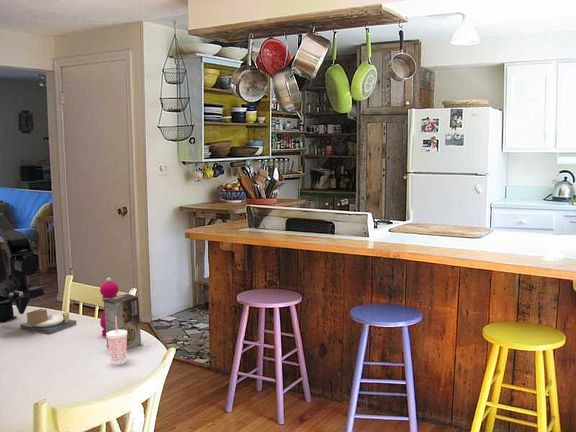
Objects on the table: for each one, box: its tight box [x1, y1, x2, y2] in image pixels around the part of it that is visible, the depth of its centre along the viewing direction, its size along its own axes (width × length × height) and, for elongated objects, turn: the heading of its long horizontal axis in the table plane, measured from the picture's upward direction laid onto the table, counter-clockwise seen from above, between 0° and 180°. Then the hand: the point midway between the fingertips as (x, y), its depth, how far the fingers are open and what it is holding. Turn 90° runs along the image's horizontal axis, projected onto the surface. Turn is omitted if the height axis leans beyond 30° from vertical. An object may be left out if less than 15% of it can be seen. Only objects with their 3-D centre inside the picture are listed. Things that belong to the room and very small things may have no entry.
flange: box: [26, 308, 63, 327], centre depth 216 cm, size 11×13×5 cm
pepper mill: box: [99, 277, 120, 338], centre depth 206 cm, size 7×7×20 cm
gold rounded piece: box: [62, 312, 70, 324], centre depth 216 cm, size 2×2×4 cm
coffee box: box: [103, 293, 142, 350], centre depth 194 cm, size 9×6×16 cm
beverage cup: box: [105, 316, 128, 365], centre depth 181 cm, size 6×6×14 cm
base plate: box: [19, 318, 77, 335], centre depth 217 cm, size 15×12×2 cm
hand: (21, 313), depth 214 cm, fingers closed
